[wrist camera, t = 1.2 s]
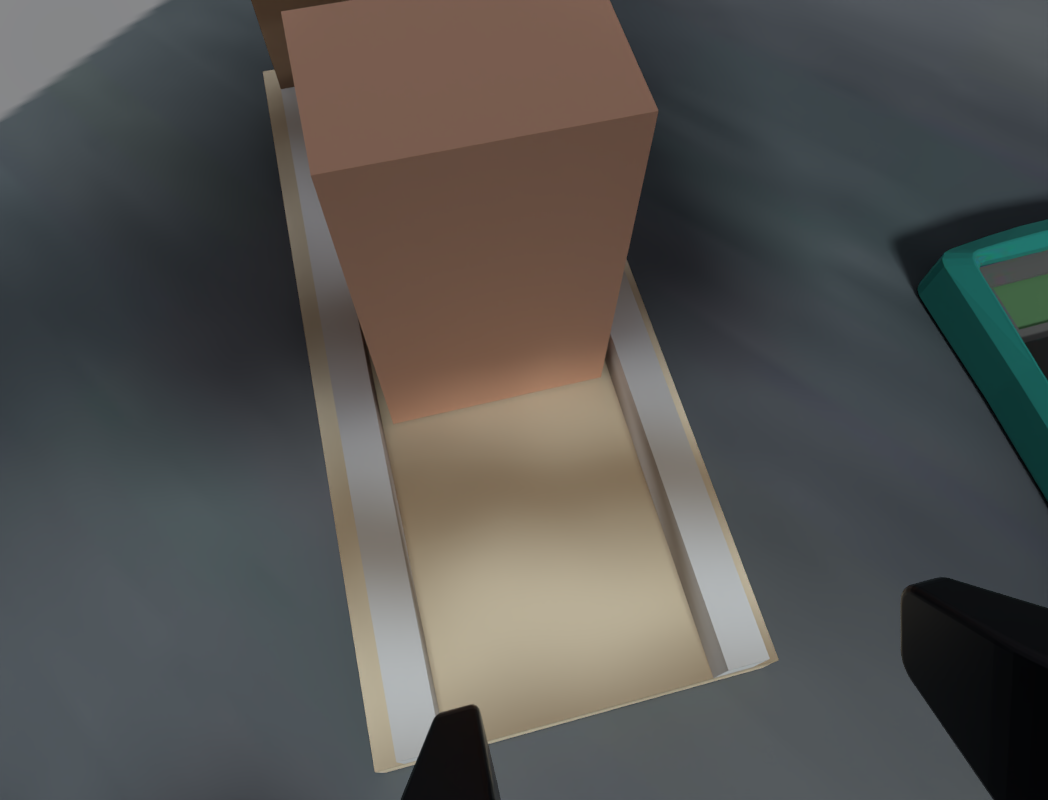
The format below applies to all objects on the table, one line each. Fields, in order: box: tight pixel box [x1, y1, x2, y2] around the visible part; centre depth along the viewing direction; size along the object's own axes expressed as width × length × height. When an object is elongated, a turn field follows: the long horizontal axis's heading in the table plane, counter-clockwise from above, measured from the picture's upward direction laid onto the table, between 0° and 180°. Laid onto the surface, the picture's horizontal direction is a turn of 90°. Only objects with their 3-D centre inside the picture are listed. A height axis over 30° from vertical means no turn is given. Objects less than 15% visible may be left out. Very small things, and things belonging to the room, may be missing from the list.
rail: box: [251, 0, 778, 773], centre depth 22 cm, size 23×10×6 cm, turn 14°
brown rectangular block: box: [281, 0, 658, 424], centre depth 19 cm, size 4×6×10 cm, turn 104°
